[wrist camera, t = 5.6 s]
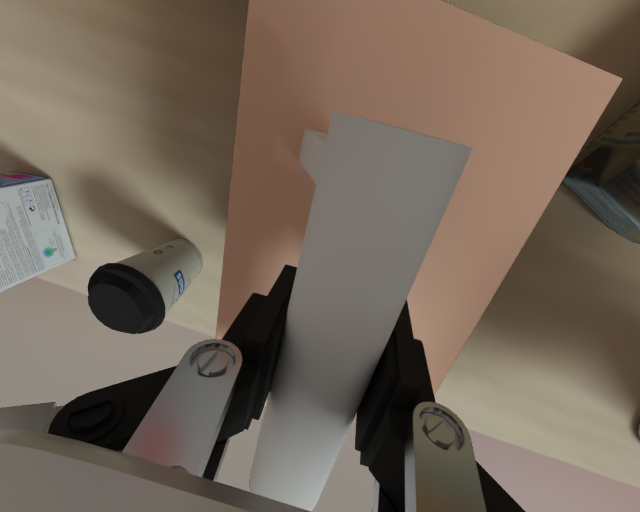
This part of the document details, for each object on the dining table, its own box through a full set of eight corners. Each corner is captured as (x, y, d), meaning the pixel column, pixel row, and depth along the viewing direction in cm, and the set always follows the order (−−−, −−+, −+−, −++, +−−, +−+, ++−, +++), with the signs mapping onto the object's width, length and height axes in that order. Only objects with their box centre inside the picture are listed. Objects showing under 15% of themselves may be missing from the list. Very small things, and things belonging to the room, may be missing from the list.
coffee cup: (145, 257, 35) (64, 307, 26) (171, 215, 32) (91, 254, 23) (194, 295, 36) (134, 355, 27) (224, 257, 33) (168, 311, 24)
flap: (599, 78, 14) (958, 78, 7) (428, 382, 24) (510, 512, 17) (255, -65, 9) (321, -534, 2) (209, 395, 19) (194, 589, 11)
